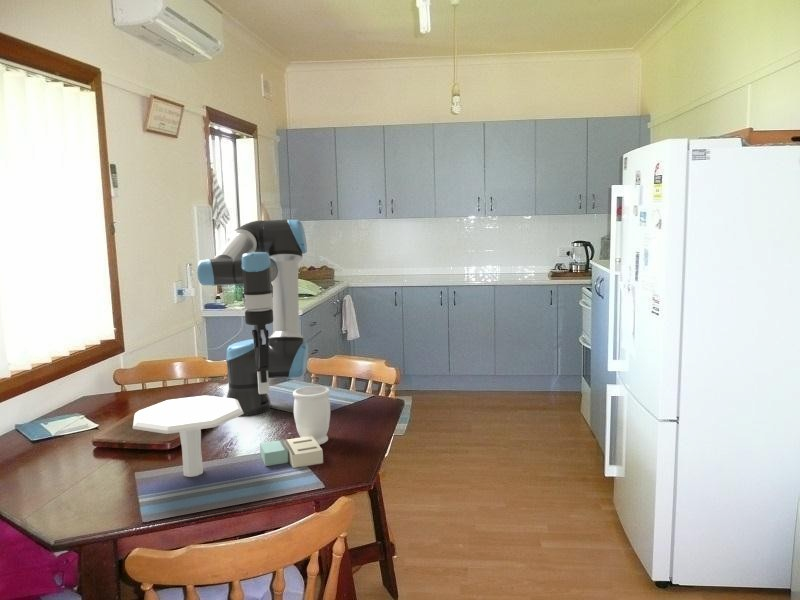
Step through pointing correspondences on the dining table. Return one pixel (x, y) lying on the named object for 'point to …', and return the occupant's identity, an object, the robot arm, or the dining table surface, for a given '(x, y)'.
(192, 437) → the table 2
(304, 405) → the jar
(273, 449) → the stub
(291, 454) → the cream slotted block
